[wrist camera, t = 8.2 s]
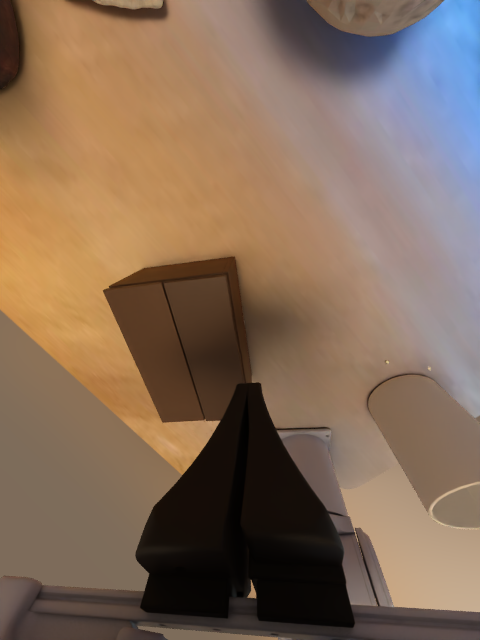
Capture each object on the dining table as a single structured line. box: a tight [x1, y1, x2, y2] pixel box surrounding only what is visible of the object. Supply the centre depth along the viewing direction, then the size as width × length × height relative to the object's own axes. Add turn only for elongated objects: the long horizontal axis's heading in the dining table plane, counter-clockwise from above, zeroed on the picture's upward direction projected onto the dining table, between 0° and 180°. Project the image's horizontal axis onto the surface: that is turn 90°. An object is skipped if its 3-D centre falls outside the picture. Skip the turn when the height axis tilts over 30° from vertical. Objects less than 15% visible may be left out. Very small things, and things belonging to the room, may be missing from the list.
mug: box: [368, 375, 480, 529], centre depth 21 cm, size 12×8×10 cm, turn 36°
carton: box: [109, 257, 252, 421], centre depth 20 cm, size 14×9×6 cm, turn 8°
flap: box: [103, 282, 205, 422], centre depth 17 cm, size 14×4×1 cm, turn 8°
